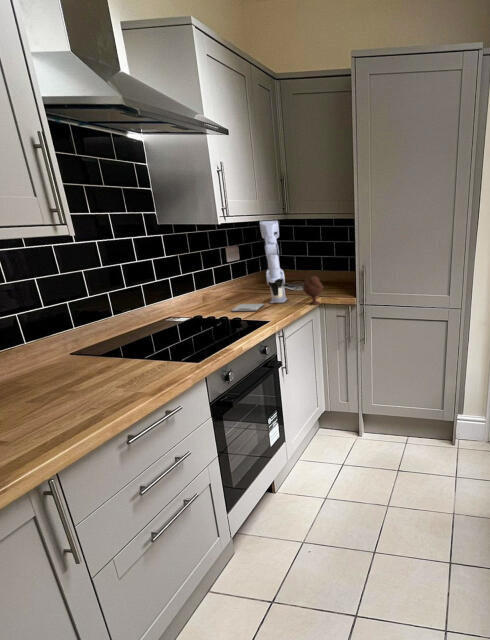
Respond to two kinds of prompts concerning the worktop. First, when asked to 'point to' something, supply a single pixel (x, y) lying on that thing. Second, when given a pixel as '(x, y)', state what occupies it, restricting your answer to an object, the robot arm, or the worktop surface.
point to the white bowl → (280, 293)
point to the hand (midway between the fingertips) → (277, 294)
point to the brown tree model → (313, 288)
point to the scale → (247, 308)
